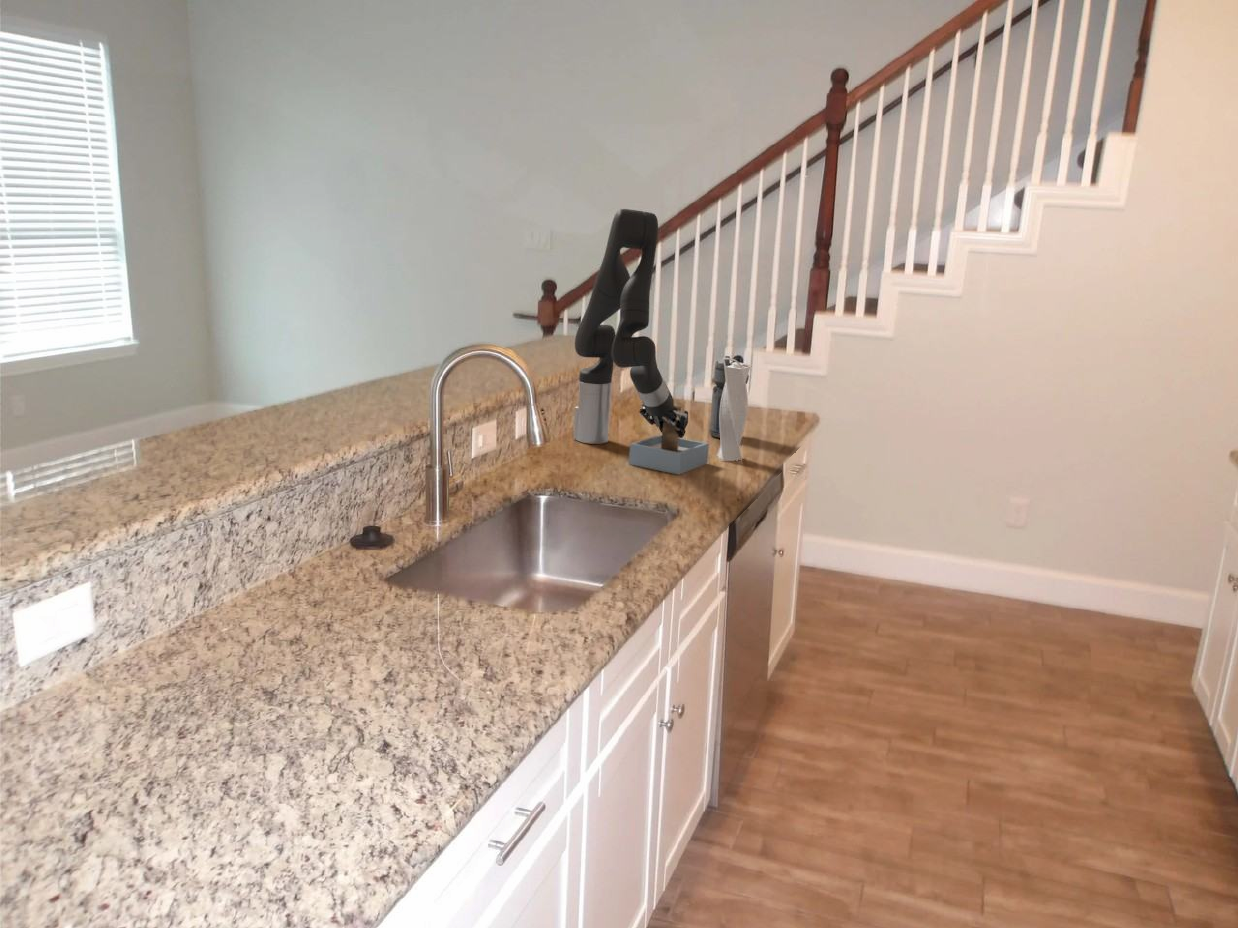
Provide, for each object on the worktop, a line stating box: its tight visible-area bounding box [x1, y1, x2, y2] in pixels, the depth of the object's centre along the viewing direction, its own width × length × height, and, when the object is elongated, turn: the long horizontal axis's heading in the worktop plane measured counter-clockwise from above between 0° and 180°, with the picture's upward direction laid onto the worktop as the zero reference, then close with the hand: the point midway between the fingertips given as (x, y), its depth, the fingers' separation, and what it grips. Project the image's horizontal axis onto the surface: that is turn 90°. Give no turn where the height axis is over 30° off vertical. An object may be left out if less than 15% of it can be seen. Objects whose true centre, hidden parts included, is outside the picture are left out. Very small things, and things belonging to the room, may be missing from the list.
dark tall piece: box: [709, 354, 750, 439], centre depth 293 cm, size 10×13×25 cm
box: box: [628, 433, 710, 476], centre depth 258 cm, size 15×16×6 cm
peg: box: [661, 404, 682, 452], centre depth 256 cm, size 4×4×14 cm
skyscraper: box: [716, 357, 751, 462], centre depth 264 cm, size 8×8×28 cm
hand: (673, 433), depth 258 cm, fingers closed on peg, 4 cm apart
